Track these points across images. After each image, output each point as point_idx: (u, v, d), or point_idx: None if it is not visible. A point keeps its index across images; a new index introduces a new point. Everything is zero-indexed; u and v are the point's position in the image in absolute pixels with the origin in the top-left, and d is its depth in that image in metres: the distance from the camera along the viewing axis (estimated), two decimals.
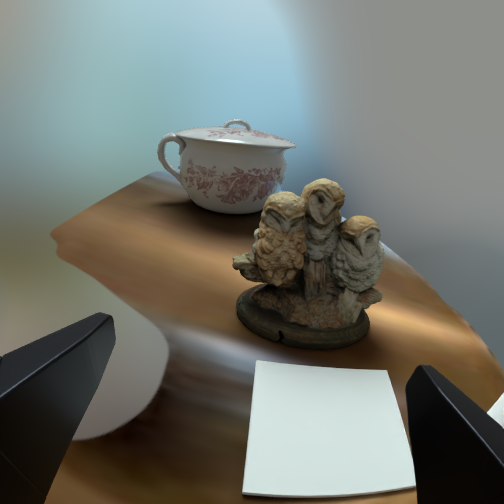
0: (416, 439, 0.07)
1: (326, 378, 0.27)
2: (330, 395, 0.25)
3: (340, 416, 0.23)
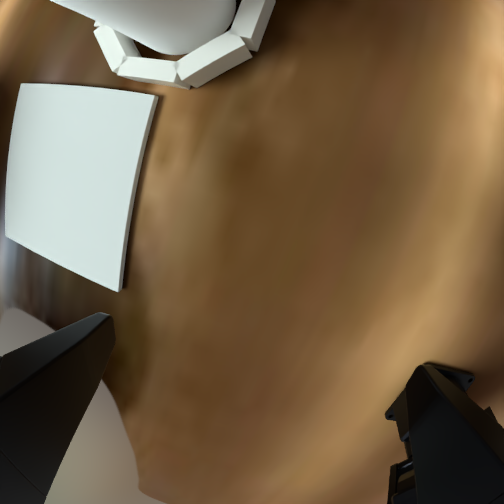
0: (416, 439, 0.07)
1: (16, 166, 0.19)
2: (31, 168, 0.19)
3: (51, 165, 0.19)
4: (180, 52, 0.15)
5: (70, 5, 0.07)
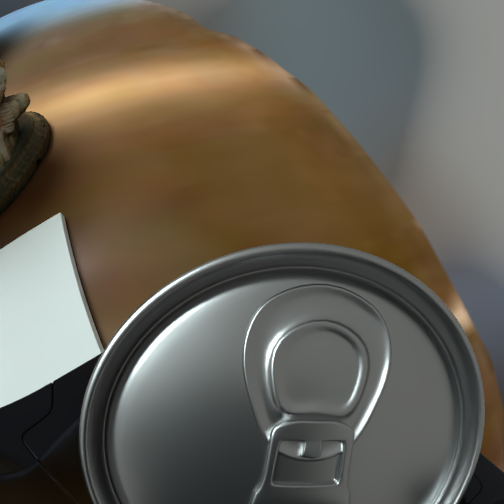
0: None
1: None
2: None
3: (8, 342, 0.13)
4: None
5: None
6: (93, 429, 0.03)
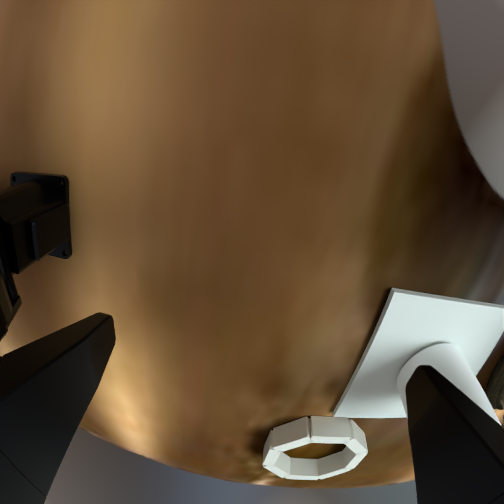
0: (416, 439, 0.07)
1: None
2: None
3: None
4: (425, 353, 0.20)
5: None
6: None
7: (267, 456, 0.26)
